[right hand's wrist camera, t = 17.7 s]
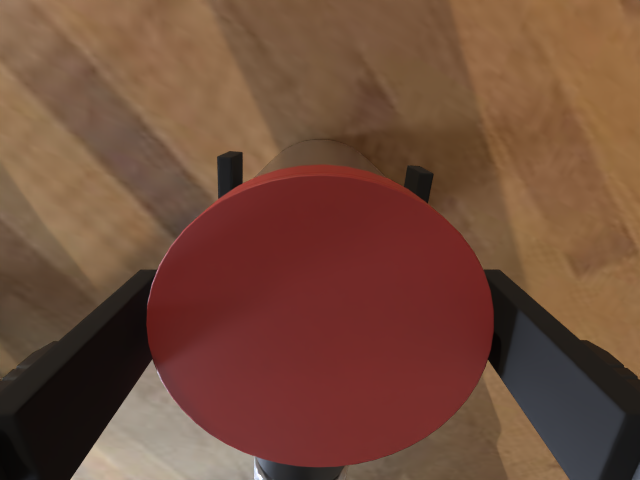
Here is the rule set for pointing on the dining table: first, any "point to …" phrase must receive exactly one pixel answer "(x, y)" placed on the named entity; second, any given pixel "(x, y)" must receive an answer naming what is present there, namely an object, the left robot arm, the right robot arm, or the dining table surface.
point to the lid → (320, 317)
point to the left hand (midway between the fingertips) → (325, 161)
